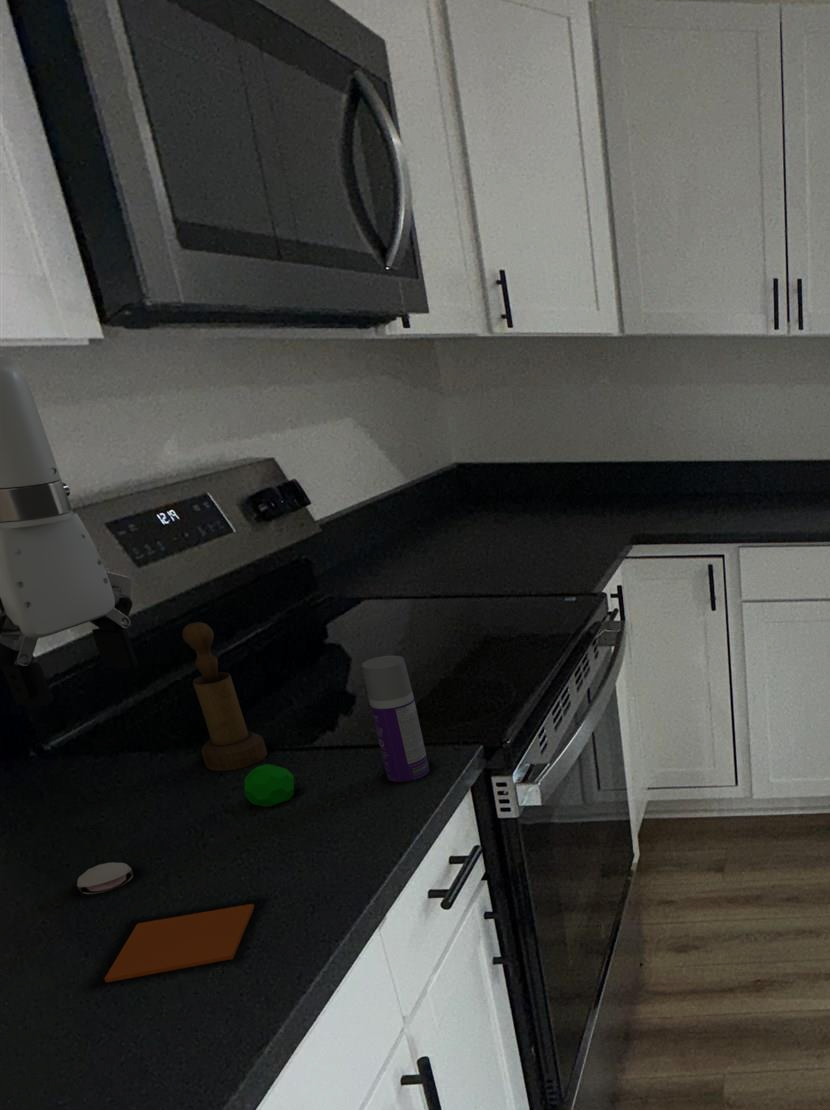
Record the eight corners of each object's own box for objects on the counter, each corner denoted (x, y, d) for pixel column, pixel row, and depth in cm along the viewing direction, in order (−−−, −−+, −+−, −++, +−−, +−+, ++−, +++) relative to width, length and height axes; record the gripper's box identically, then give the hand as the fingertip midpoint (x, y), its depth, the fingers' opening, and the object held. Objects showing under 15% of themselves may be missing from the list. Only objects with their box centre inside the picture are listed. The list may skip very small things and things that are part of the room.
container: (379, 783, 111) (350, 665, 105) (409, 767, 115) (384, 653, 109) (409, 789, 109) (381, 671, 103) (439, 773, 113) (414, 657, 107)
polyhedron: (300, 808, 105) (289, 770, 103) (250, 819, 103) (237, 781, 101) (299, 790, 109) (288, 754, 107) (250, 800, 107) (239, 763, 105)
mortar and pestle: (221, 776, 113) (175, 635, 105) (196, 763, 116) (150, 626, 108) (277, 756, 118) (237, 621, 110) (251, 744, 121) (211, 612, 113)
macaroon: (85, 905, 88) (76, 883, 87) (76, 885, 91) (67, 863, 90) (140, 887, 91) (131, 865, 90) (129, 868, 94) (120, 847, 93)
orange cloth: (98, 992, 76) (94, 982, 76) (135, 930, 84) (131, 921, 84) (237, 966, 80) (233, 956, 79) (260, 909, 87) (257, 899, 87)
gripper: (60, 487, 90) (117, 654, 97) (-128, 523, 74) (-43, 718, 81) (132, 489, 89) (185, 656, 96) (-41, 525, 73) (37, 722, 81)
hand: (81, 684), depth 89 cm, fingers open, 9 cm apart
